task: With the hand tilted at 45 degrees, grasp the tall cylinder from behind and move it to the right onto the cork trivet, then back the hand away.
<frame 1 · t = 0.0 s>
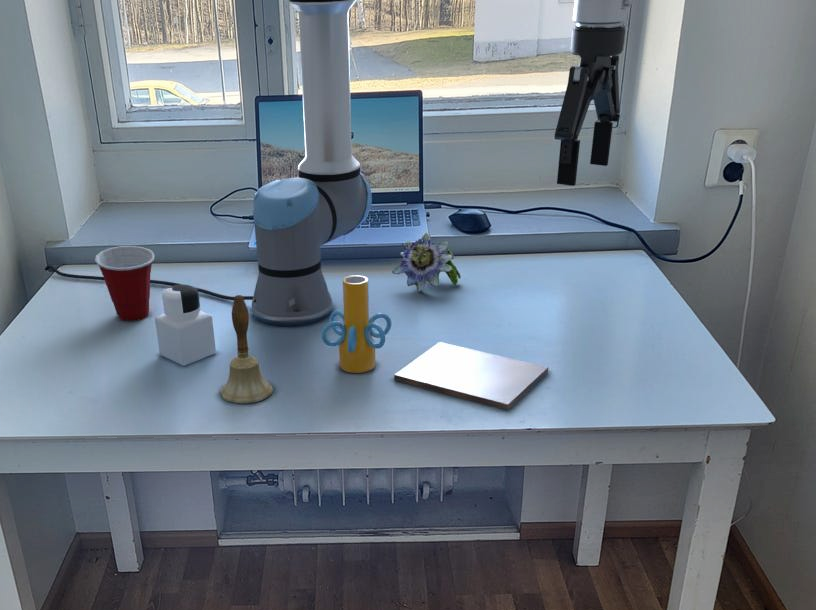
hand: (583, 174, 144), 28 cm above the table, tool pointing down, fingers open, 13 cm apart
hand bell: (246, 393, 146), on the table
medicine bottle: (188, 355, 159), on the table
passion flower: (426, 284, 184), on the table
cylinder: (357, 367, 153), on the table
trivet: (471, 376, 148), on the table
plastic cup: (134, 316, 175), on the table
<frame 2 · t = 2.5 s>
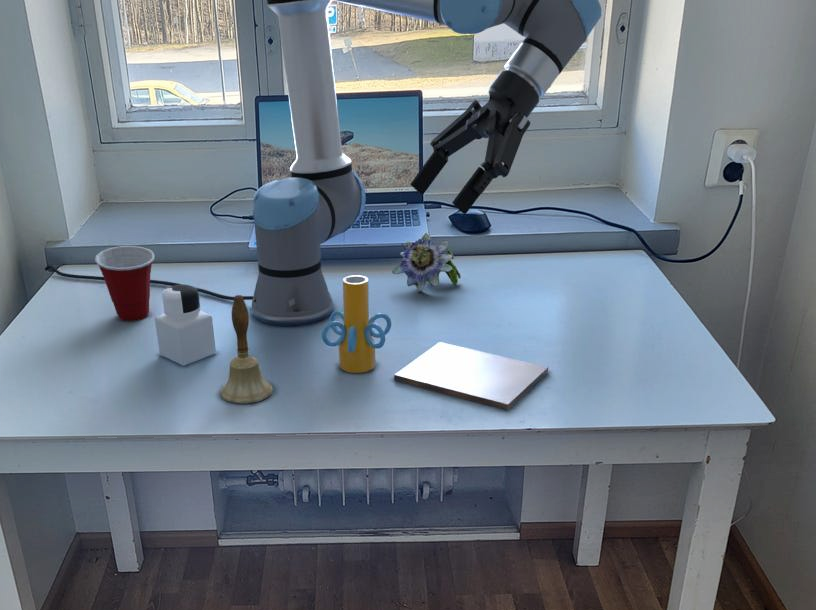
hand: (436, 199, 144), 26 cm above the table, tool tilted 45°, fingers open, 13 cm apart
nothing on the table moved.
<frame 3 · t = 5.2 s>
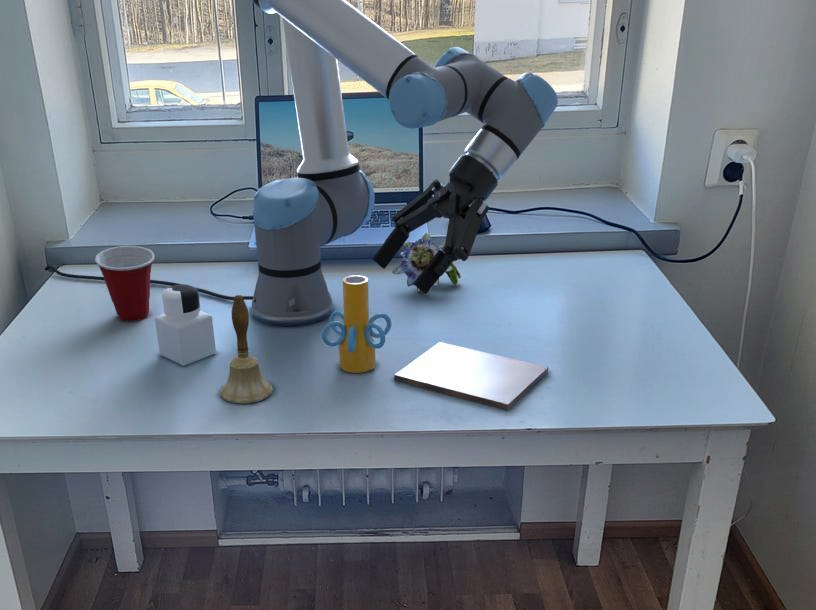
hand: (397, 276, 148), 14 cm above the table, tool tilted 45°, fingers open, 13 cm apart
nothing on the table moved.
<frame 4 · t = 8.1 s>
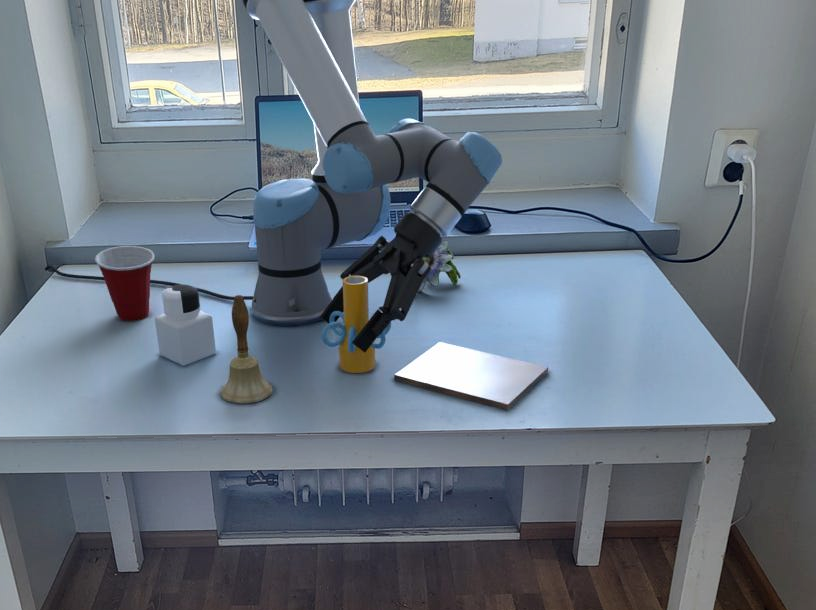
hand: (341, 334, 148), 6 cm above the table, tool tilted 45°, fingers closed on cylinder, 11 cm apart
cylinder: (357, 367, 153), on the table, touching gripper
everything else where it was.
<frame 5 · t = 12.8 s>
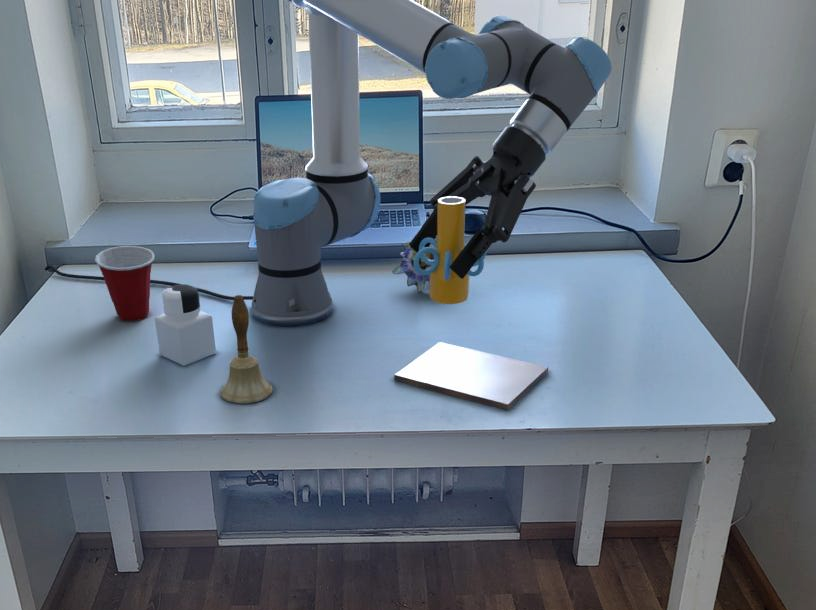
hand: (434, 261, 137), 19 cm above the table, tool tilted 45°, fingers closed on cylinder, 11 cm apart
cylinder: (449, 299, 142), point 13 cm above the table, touching gripper
everything else where it was.
when the fingers open (7 cm above the table, at t = 17.3 s): cylinder stays where it is, resting on trivet.
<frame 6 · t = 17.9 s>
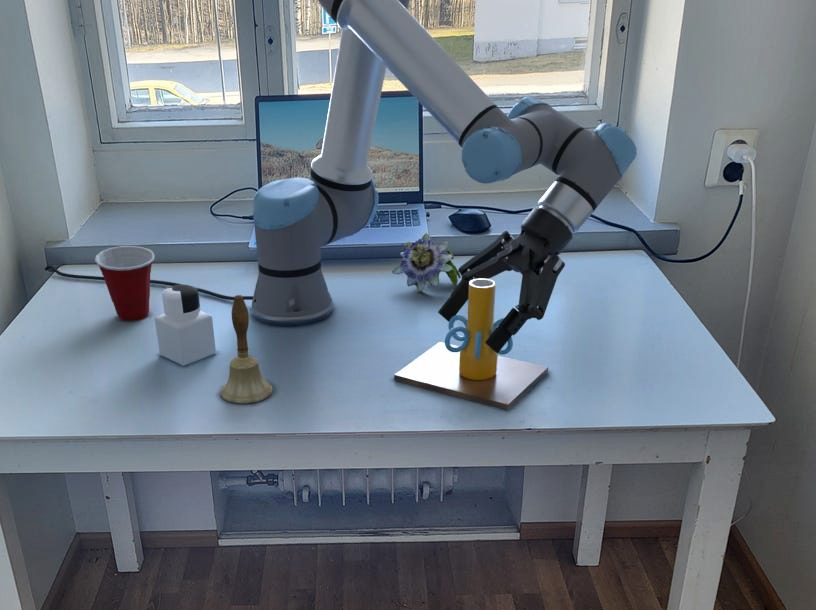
hand: (466, 332, 142), 8 cm above the table, tool tilted 45°, fingers open, 13 cm apart
cylinder: (477, 373, 147), point 1 cm above the table, touching trivet
everything else where it was.
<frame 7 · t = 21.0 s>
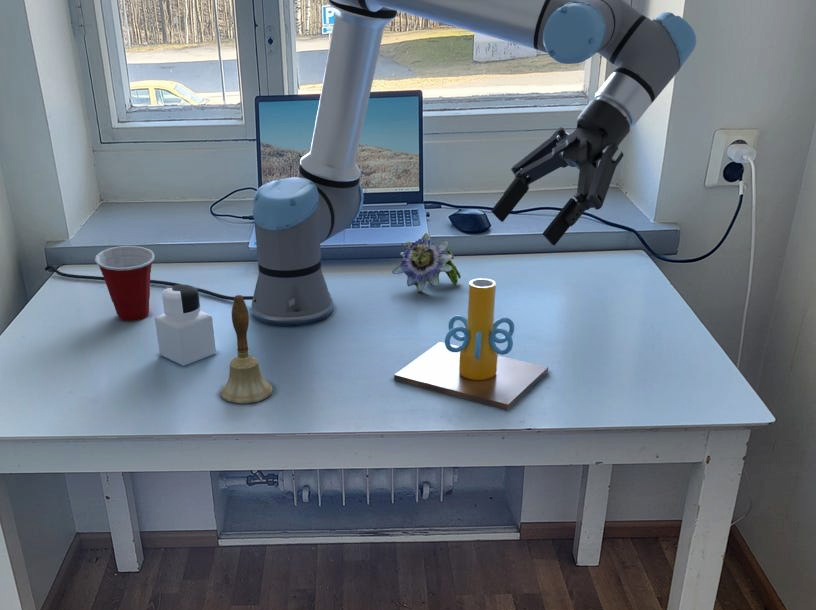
hand: (521, 228, 141), 22 cm above the table, tool tilted 45°, fingers open, 13 cm apart
nothing on the table moved.
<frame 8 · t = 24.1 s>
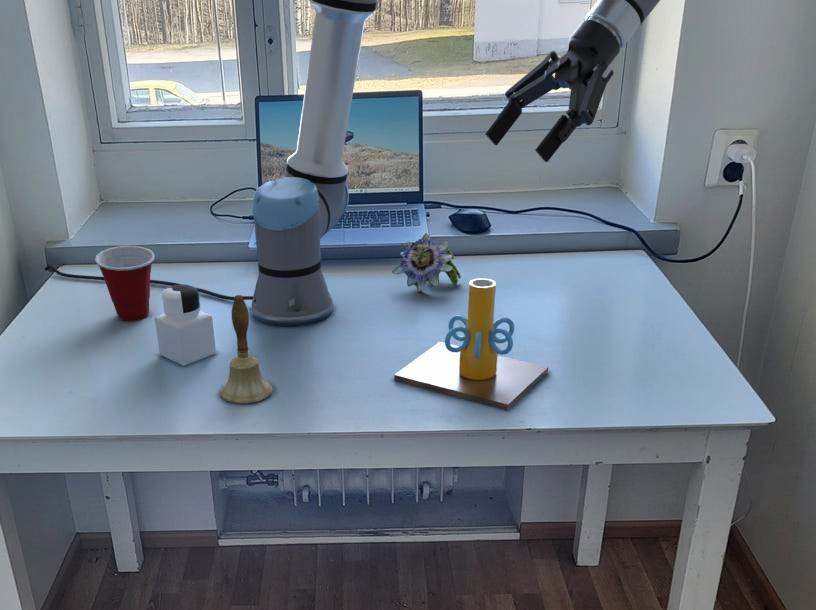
hand: (514, 147, 145), 32 cm above the table, tool tilted 45°, fingers open, 13 cm apart
nothing on the table moved.
at the end: cylinder inside the target area on the trivet (0.7 cm from its centre), point 0.8 cm above the trivet's base; cylinder tilted 0°; the gripper is holding nothing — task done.
